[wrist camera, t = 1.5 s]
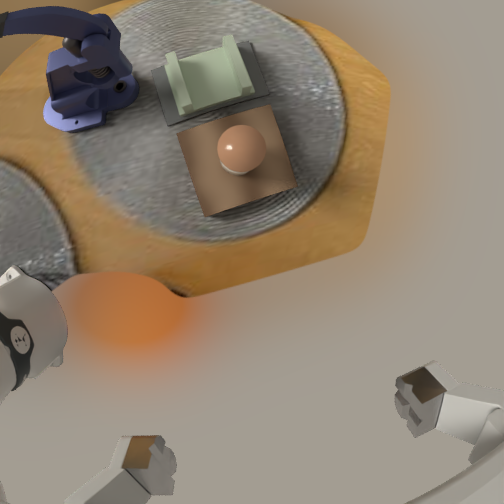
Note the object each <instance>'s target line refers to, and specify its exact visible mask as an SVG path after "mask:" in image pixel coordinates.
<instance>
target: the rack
mask: <svg viewBox="0 0 504 504" xmlns="http://www.w3.org/2000/svg"><path fill="white" fill-rule="evenodd" d="M165 55H166V59H167V62H168V64H166V65H164V66H165V70H166V73H167V76H168V79H169V82H170V86H171V89H172V92H173V95H174V98H175V102H176V105H177V108H178V111H179V114H180V116H181V117H182V116H185V115H188V114H191V113H194V112H197V111H199V110H202V109H205V108H209V107H212V106H215V105H218V104H221V103H224V102H228V101H231V100H235V99H238V98H242V97H245V96H249V95H253V94H255V90H254V88H253V85H252V82H251V80H250V77H249V74H248V72H247V69H246V67H245V64H244V62H243V59H242V57H241V54H240V52H239V49H238V47H237V44H236V43H235V41H234V38H233V36H232V35H228V36H224V37H223V47H220V48H217V49H213V50H210V51H206V52H203V53H199V54H196V55H193V56H190V57H187V58H184V59H181V60H177V57H176V54H175V51H173V52H171V53H168V54H165Z"/></svg>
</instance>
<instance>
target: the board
mask: <svg viewBox="0 0 504 504" xmlns="http://www.w3.org/2000/svg"><path fill="white" fill-rule="evenodd" d="M236 125H247V126H251V127H253V128H255V129H256V130H258V131H259V132H260V133H261V135H262V136H263V138H264V140H265V143H266V154H265V157H264V159H263V161H262V162H261V163H260V165H258V166H257V167H256V168H255V169H253V170H251V171H249V172H247V173H246V174H243V175H239V176H236V175H231V174H229V173H227V172H226V171H225V170H224V169H223V167H222V166H221V163H220V158H219V156H218V151H217V146H218V141H219V139H220V137H221V135H222V134H223V133H224V132H225V131H226V130H227V129H229V128H231V127H233V126H236ZM177 136H178V140H179V143H180V146H181V149H182V152H183V155H184V158H185V161H186V164H187V167H188V170H189V173H190V176H191V179H192V182H193V185H194V188H195V191H196V194H197V196H198V199H199V202H200V205H201V208H202V211H203V214H204V217H207V216H210V215H213V214H216V213H219V212H221V211H224V210H227V209H230V208H233V207H236V206H239V205H242V204H245V203H248V202H251V201H254V200H257V199H260V198H263V197H266V196H269V195H272V194H275V193H279V192H282V191H285V190H288V189H291V188H294V187H298V185H297V182H296V179H295V176H294V173H293V170H292V167H291V164H290V160H289V157H288V154H287V151H286V148H285V145H284V143H283V140H282V137H281V134H280V131H279V128H278V125H277V122H276V120H275V117H274V114H273V111H272V108H271V106H270V104H269V105H265V106H262V107H258V108H254V109H251V110H247V111H243V112H240V113H237V114H233V115H230V116H227V117H223V118H220V119H217V120H214V121H211V122H208V123H205V124H202V125H199V126H196V127H193V128H190V129H188V130H185V131H182V132H179V133H177Z"/></svg>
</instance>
